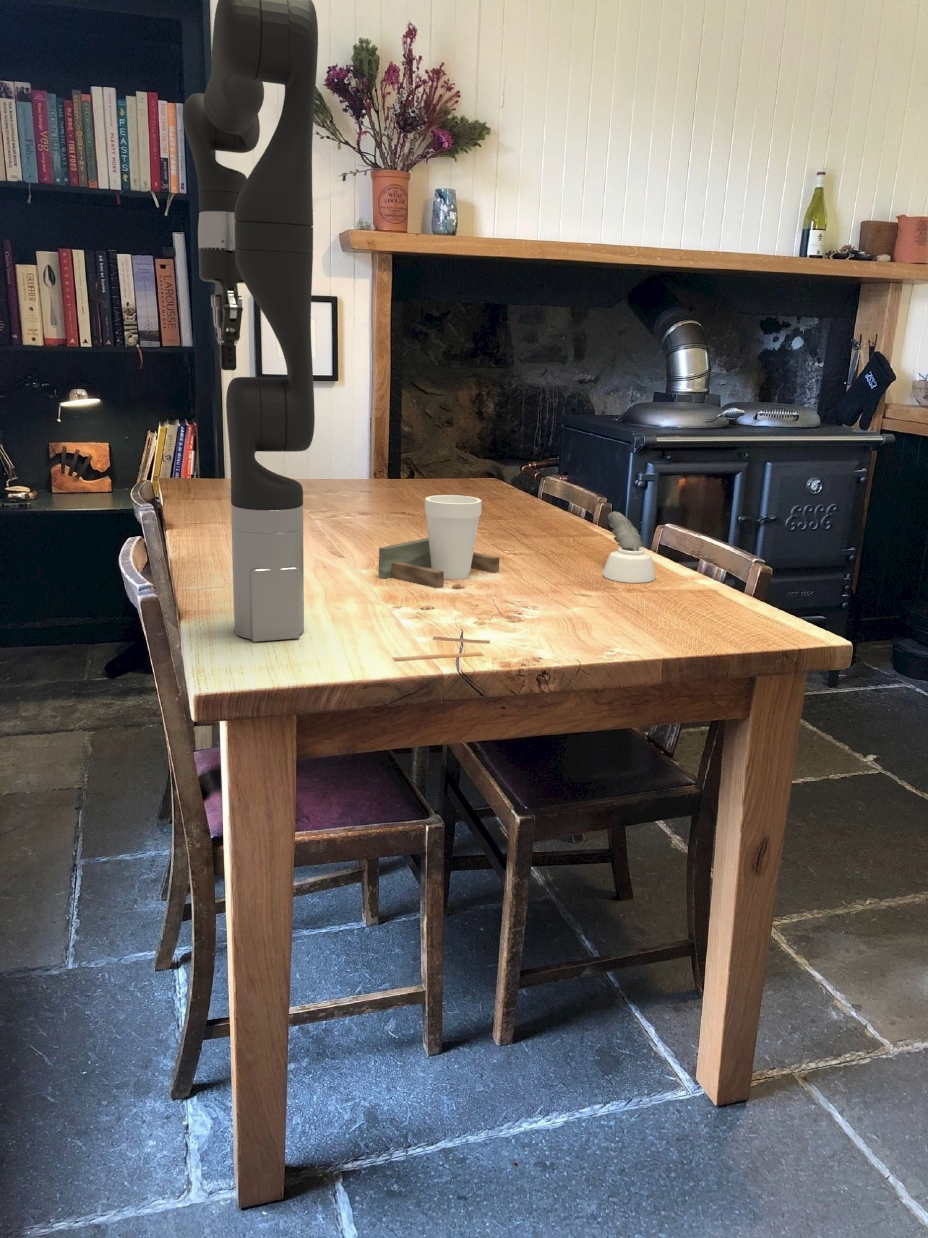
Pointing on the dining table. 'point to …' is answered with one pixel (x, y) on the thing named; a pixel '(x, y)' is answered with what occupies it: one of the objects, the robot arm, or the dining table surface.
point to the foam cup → (452, 533)
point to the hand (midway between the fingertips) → (228, 369)
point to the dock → (422, 563)
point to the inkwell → (628, 554)
